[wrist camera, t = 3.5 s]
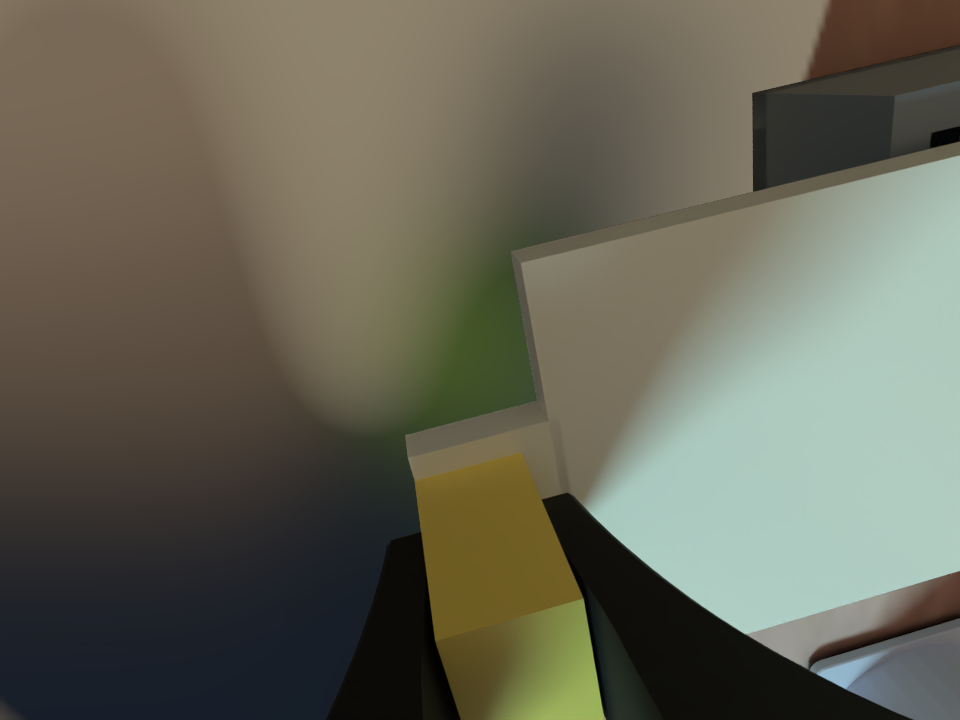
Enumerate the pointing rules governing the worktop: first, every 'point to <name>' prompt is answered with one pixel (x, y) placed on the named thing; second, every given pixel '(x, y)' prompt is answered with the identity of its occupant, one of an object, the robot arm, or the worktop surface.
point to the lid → (709, 425)
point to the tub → (853, 117)
